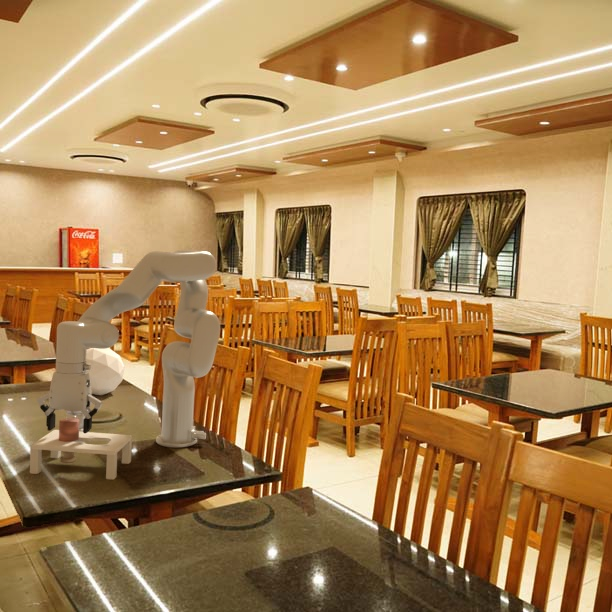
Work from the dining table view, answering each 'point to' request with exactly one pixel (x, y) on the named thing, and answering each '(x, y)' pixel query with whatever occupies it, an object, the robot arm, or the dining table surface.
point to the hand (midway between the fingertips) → (68, 430)
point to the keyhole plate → (83, 449)
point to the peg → (68, 436)
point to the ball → (104, 370)
